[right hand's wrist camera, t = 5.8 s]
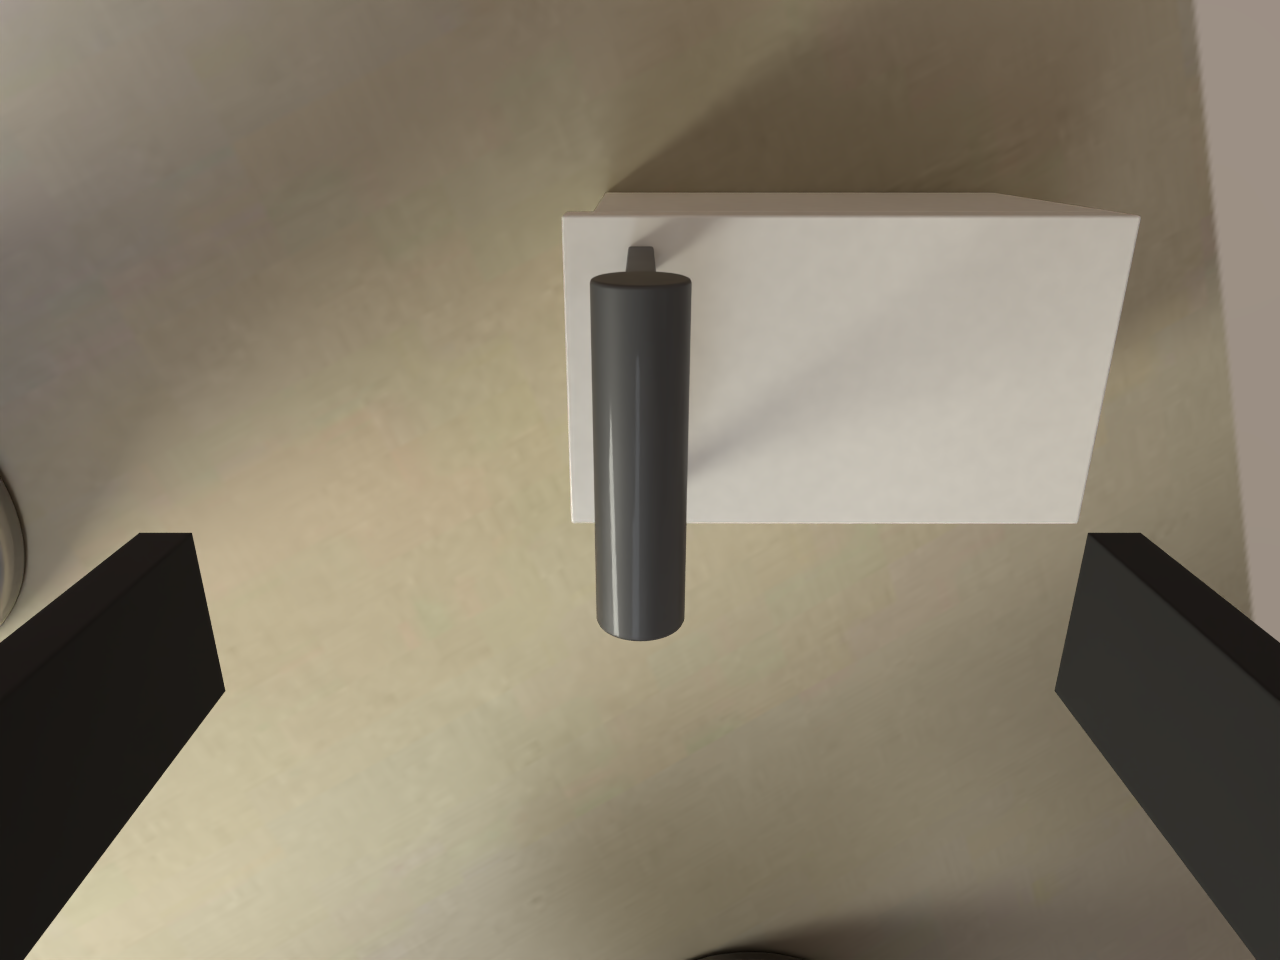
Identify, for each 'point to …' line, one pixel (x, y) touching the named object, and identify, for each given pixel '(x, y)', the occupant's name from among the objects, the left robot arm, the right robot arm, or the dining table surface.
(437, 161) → the dining table surface
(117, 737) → the right robot arm
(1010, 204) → the chest
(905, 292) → the lid
